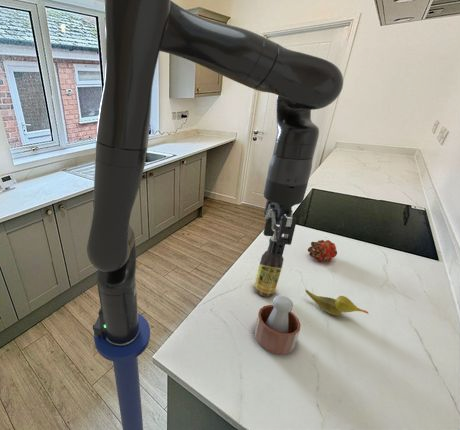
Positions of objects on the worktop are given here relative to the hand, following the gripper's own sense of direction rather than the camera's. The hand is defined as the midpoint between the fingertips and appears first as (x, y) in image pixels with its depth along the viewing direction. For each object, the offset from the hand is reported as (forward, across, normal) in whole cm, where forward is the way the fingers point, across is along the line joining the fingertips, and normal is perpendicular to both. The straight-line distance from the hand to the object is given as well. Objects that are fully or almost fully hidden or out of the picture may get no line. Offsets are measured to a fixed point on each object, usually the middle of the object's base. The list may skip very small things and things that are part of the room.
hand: (271, 244), depth 60 cm
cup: (+27, +2, +5) cm, 28 cm away
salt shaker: (+27, +2, +5) cm, 27 cm away
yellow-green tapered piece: (+27, -10, +23) cm, 37 cm away
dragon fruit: (+27, -38, +30) cm, 55 cm away
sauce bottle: (+27, -16, +6) cm, 32 cm away
